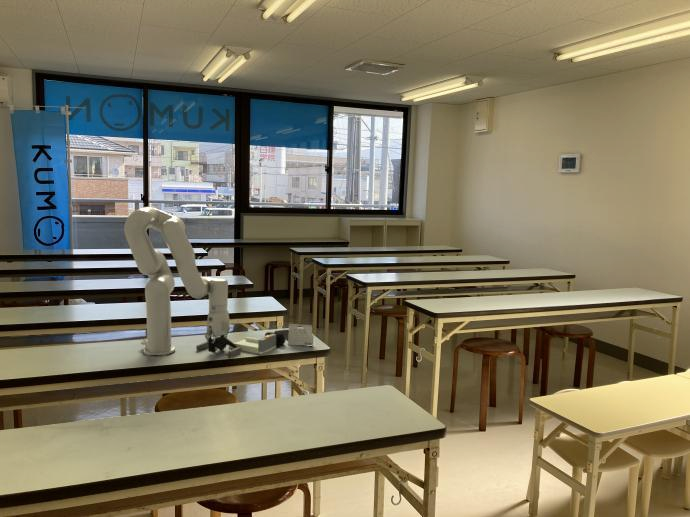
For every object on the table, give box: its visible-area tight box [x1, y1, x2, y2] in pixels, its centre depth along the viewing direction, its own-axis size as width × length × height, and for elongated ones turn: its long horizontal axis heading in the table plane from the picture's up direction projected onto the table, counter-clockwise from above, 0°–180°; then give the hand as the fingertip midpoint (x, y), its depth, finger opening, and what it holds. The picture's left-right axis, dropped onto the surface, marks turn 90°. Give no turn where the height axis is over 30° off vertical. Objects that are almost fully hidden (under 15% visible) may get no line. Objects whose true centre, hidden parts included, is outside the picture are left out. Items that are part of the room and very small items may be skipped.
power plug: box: [212, 336, 237, 354], centre depth 242 cm, size 6×8×12 cm
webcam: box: [264, 331, 286, 349], centre depth 255 cm, size 9×6×6 cm
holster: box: [195, 340, 242, 358], centre depth 242 cm, size 17×7×2 cm, turn 66°
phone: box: [273, 329, 289, 341], centre depth 270 cm, size 8×1×15 cm
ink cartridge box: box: [287, 323, 314, 346], centre depth 255 cm, size 2×11×10 cm, turn 78°
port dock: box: [228, 334, 277, 355], centre depth 249 cm, size 17×11×6 cm, turn 66°
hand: (217, 349), depth 242 cm, fingers closed on power plug, 6 cm apart
